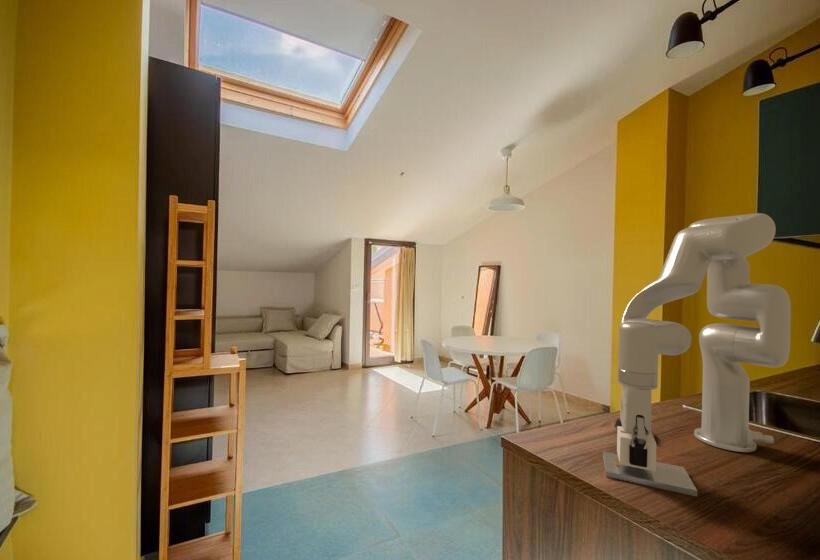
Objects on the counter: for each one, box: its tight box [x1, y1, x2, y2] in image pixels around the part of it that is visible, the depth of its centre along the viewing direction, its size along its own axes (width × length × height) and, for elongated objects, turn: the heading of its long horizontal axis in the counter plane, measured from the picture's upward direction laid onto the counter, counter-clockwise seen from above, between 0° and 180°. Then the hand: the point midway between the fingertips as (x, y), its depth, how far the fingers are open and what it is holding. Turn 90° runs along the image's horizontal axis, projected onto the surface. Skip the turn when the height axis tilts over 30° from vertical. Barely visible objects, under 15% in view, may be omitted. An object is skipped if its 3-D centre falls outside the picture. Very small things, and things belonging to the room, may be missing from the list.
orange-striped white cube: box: [616, 426, 657, 471], centre depth 81 cm, size 7×7×6 cm
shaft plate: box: [602, 451, 698, 497], centre depth 80 cm, size 16×10×4 cm, turn 65°
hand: (635, 457), depth 81 cm, fingers closed on orange-striped white cube, 6 cm apart
